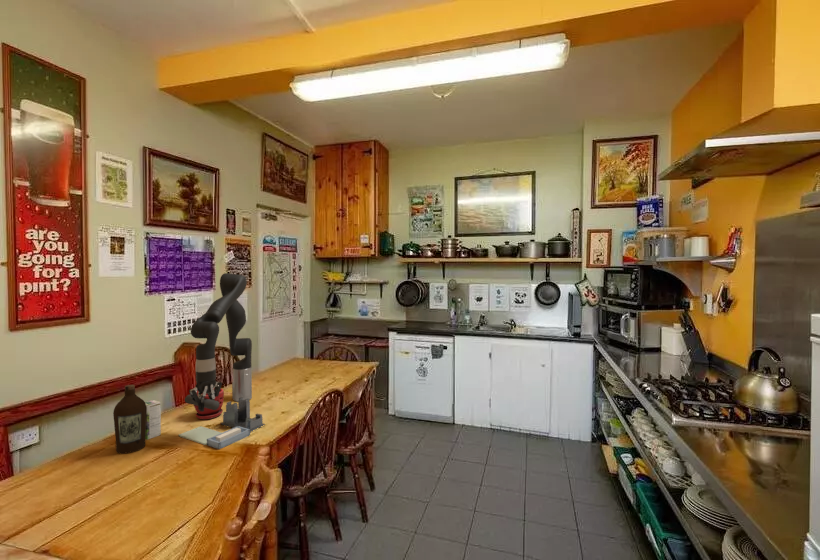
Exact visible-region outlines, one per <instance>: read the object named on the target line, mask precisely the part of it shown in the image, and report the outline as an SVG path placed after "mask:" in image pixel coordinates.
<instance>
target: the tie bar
mask: <svg viewBox="0 0 820 560" xmlns="http://www.w3.org/2000/svg"><path fill="white" fill-rule="evenodd" d="M229 430H230V429H229ZM222 433H223V432H222ZM239 433H241V429H240V428H235V429H233V430H230V431H228V432H226V433H223V434H221V435H219V436H216V441H218V442H221V441H223V440H225V439H227V438H230V437H232V436H234V435H237V434H239Z"/></svg>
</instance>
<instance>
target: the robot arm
mask: <svg viewBox="0 0 820 560" xmlns="http://www.w3.org/2000/svg"><path fill="white" fill-rule="evenodd" d="M247 282H248V281H247V278H246V276H245V275H242V274H236V273H229V272H228V273H227V272H225V273H222V274H221V276H220V278H219V288H220V292H221V297H219V298H218V299H216V300H215V301H214V302H212V303H211V304H210V306H209V308H207V311H206V312H205V313H203V314H202V315H201V316H199V318H198V319H196V320H195V321H194V322H193V324H192V325H191V327H190V334H191V336H192V337H193V339H194V338H195V339H206V342H205V343H201V344H198V345H197V346H196V347H195V381H196V382H195V383H196V384H195V387H193V388H192V389H189V390H188V393H189V395H191V397H192V399H193V402H197V403H198V410H199V411H201V412H202V411H204V397H205V396H206V393H207V394H208V397H209V399H211V400H214V399H215V397H216V396H217V397H218V396H219V392H220V389H222V385H223V383H222V382H221V381H217V380H216V378H217V366H216V365H217V364H216V363H217V362H216V346H217V345H216V344H217V340H218V337H219V334H220V326H219V323H221V321H222V320H223V318H224V317H225V320H226V324H227V326H226V327H227V331H228V342H229V343H228V344H229V352H230V355H231V356H232V357H233V356H234V357H235V356H236V357H237V356H244V357H242V358H241V359H239V360H236V361H234V363H233V365H232V382H231V384H232V385H231V387H232V389H231V393H232V395H231V396H232V397H231V398H232V400H233V401H234V402H238V401H239V398H241V397H243V400H245V399H249V401H250V400H251V399H252V398H253V390H252V389H253V387H252V384H253V383H252V381H253V377H252V374H253V372H252V371H253V370H252V348H253V343H252V339H251V338H250V337H249V338H248V337H241V338H240V337H239V338H237V336H238V335H239V333H240V332H241V330H242V329H243V328H244V326H245V325H246V323H247V315H246V310H245V308H244V306H243V305H242V304H241V303H240V302H239V301H238V299H239V298H240V296H241V295H243V293H244V292H245V290H246V288H247V284H248V283H247ZM197 392H198V396H197Z"/></svg>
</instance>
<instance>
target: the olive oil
mask: <svg viewBox="0 0 820 560" xmlns="http://www.w3.org/2000/svg"><path fill="white" fill-rule="evenodd" d="M135 387H136V386H135V384H126V385H124V396H123V397H122V398H121V399H120V400H119V402H117V404H116V405H115V406H114V409H113V412H112V413H113V415H112V416H113V423H114V424H113V425H114V436H115V439H114V440H115V451H116V453H117V454H120V453H121V454H131V453H135V452H138V451H140V450H142V449H144V448H145V446H146V410H147V407H146V404H145V402H146V401H144V399H143V398H141V397H140V396H138V395H136V388H135Z"/></svg>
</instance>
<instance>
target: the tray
mask: <svg viewBox="0 0 820 560" xmlns="http://www.w3.org/2000/svg"><path fill="white" fill-rule="evenodd" d="M235 428H240V429H241V433H239V434H237V435H234V436H232V437H230V438H227V439H225V440H223V441H221V442H218V441H216V436H219V435H221V434H223V433H226V432H228V431H230V430H233V429H235ZM235 428H231V429H227V430H225V431H223V432H222V433H220V434H218V435H216V436H213V437H211V438H208V439H207V445H206V446H208V447H210V448H214V449H217V450H221V449H223V448H225V447H227V446H230V445H232V444H234V443H237V442H239V441H240V440H244V439H245V438H247V437H249V435H250V436H251V432H250V429H247V428H243V427H240V426H237V427H235Z"/></svg>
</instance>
